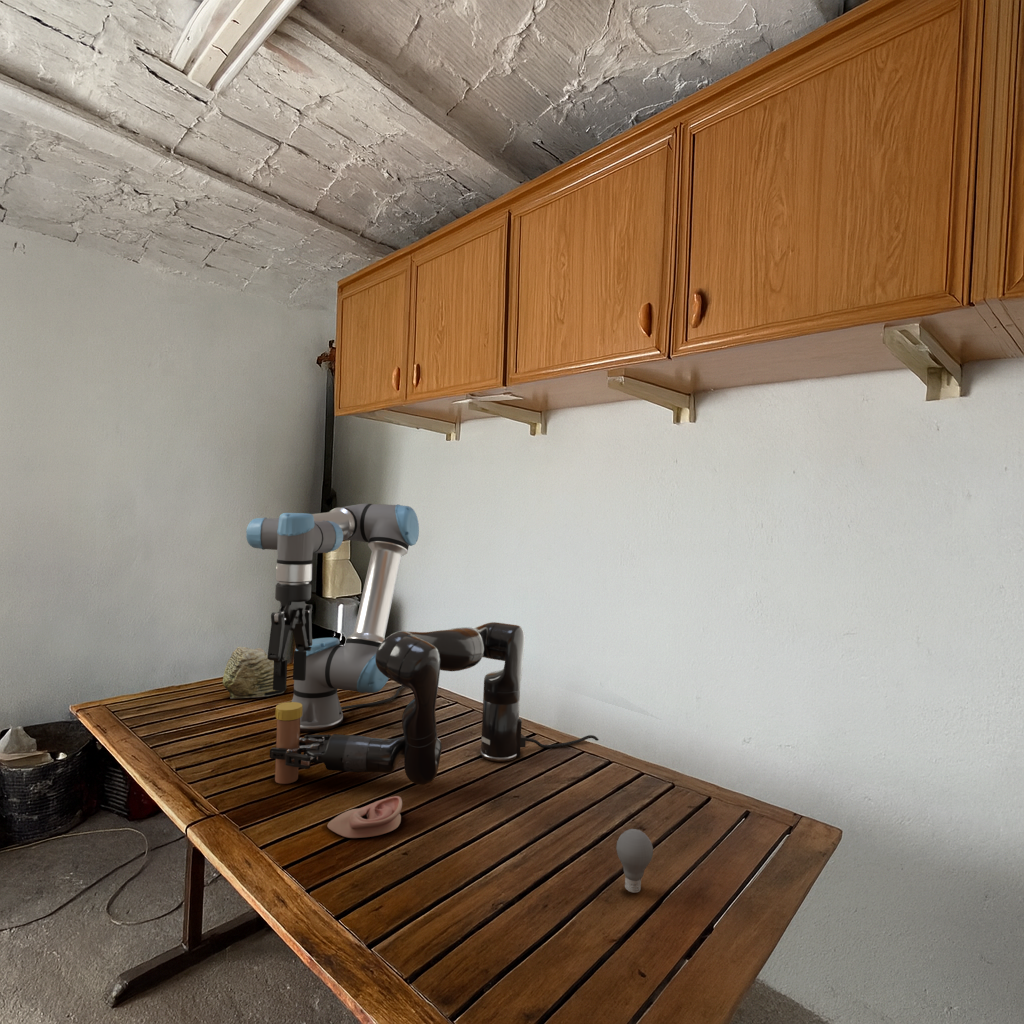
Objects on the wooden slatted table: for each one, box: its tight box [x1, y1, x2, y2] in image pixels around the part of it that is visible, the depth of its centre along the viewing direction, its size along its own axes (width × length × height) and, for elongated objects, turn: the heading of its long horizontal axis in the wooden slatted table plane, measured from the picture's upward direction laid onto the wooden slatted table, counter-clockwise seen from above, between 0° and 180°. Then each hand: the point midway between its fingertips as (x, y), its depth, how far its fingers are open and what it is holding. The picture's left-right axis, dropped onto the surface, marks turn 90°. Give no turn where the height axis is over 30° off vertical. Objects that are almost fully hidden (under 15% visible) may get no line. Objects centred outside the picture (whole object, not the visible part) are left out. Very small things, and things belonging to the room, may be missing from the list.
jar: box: [274, 718, 301, 785], centre depth 141 cm, size 5×5×16 cm
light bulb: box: [615, 828, 654, 894], centre depth 106 cm, size 6×6×10 cm
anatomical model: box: [327, 795, 403, 839], centre depth 123 cm, size 13×4×12 cm
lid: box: [274, 701, 303, 721], centre depth 141 cm, size 6×6×2 cm
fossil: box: [222, 646, 288, 699], centre depth 198 cm, size 9×18×15 cm, turn 132°
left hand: (289, 684), depth 141 cm, fingers open, 8 cm apart
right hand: (276, 748), depth 141 cm, fingers closed on jar, 5 cm apart
